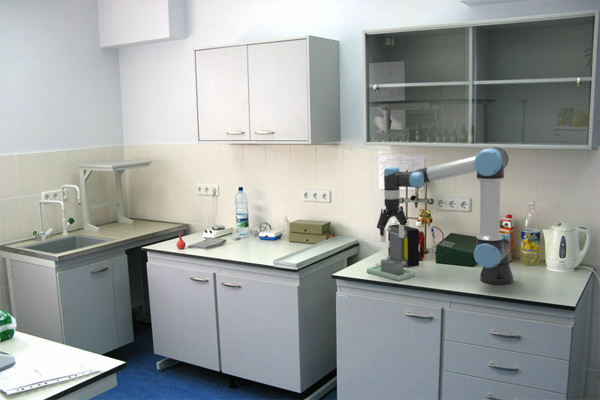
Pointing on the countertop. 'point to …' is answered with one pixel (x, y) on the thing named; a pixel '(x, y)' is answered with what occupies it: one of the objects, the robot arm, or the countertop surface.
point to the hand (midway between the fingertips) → (392, 239)
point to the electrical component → (404, 245)
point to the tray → (377, 271)
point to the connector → (391, 267)
